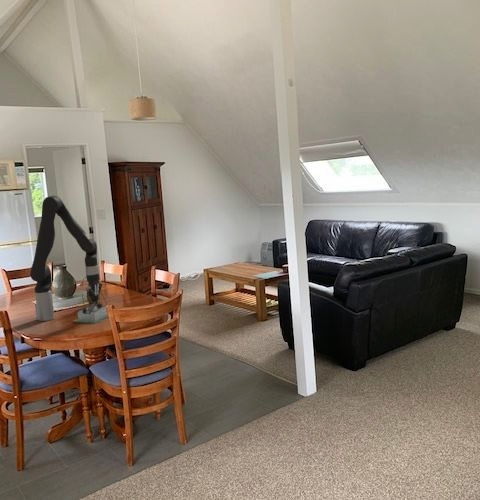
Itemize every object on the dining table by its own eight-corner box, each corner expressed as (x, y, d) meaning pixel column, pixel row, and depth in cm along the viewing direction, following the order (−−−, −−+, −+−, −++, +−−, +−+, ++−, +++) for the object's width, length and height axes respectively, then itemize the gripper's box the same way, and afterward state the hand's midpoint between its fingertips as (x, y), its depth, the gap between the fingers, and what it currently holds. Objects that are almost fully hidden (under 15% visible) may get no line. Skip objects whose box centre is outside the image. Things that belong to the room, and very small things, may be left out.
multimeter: (82, 310, 314) (78, 279, 311) (83, 306, 324) (80, 276, 321) (105, 308, 317) (102, 277, 314) (106, 304, 326) (103, 274, 323)
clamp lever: (89, 313, 290) (88, 311, 289) (85, 313, 291) (84, 310, 290) (100, 301, 299) (99, 299, 298) (95, 301, 300) (95, 299, 300)
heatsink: (72, 321, 291) (71, 309, 289) (93, 312, 308) (92, 301, 307) (95, 323, 285) (94, 311, 284) (115, 314, 302) (113, 302, 301)
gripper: (94, 270, 302) (97, 297, 305) (80, 275, 290) (83, 304, 293) (104, 270, 299) (107, 298, 302) (90, 275, 287) (94, 304, 290)
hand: (96, 301), depth 297 cm, fingers closed
